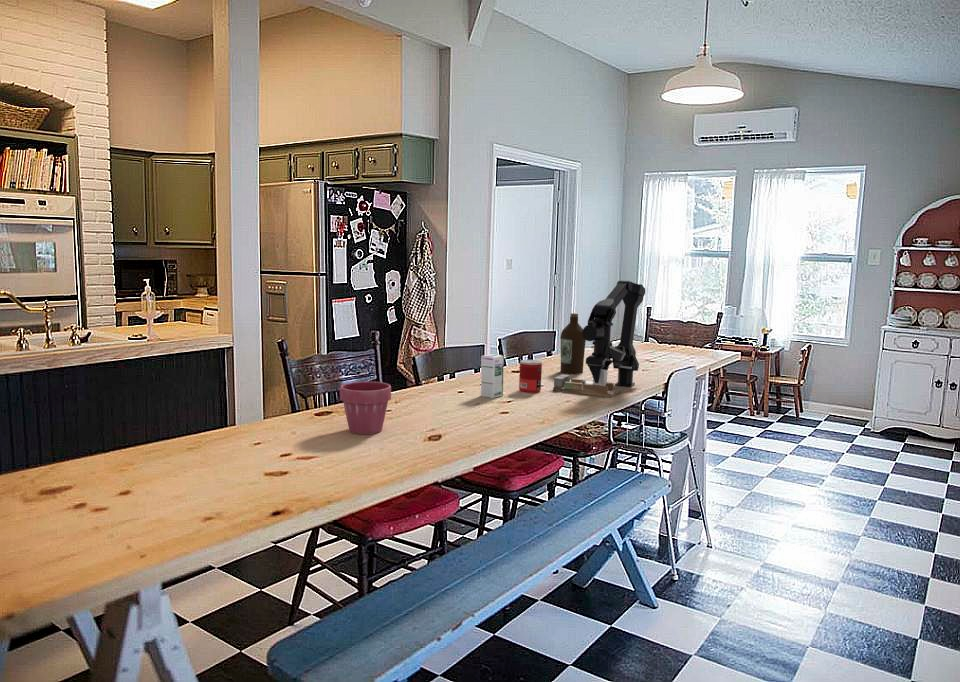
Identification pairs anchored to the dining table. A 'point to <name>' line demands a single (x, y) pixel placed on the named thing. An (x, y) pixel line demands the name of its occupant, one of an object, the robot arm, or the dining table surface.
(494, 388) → the syrup box
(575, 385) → the gauge bench
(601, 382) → the pale grey cube box
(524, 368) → the canned food
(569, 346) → the olive oil
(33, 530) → the dining table surface
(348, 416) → the plant pot
